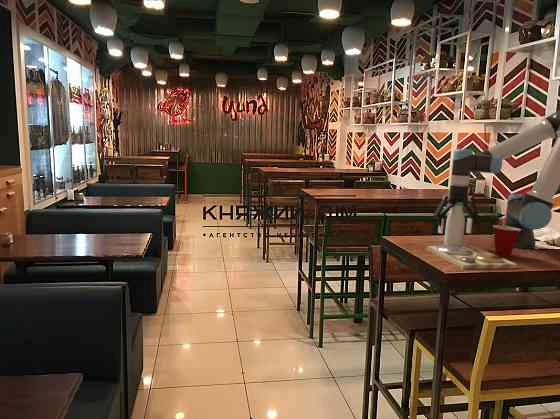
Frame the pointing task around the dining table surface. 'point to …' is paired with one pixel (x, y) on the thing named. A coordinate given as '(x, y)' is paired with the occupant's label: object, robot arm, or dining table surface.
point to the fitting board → (478, 264)
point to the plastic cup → (504, 239)
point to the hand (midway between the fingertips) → (454, 233)
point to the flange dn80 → (489, 258)
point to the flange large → (454, 250)
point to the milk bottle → (455, 226)
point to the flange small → (468, 260)
